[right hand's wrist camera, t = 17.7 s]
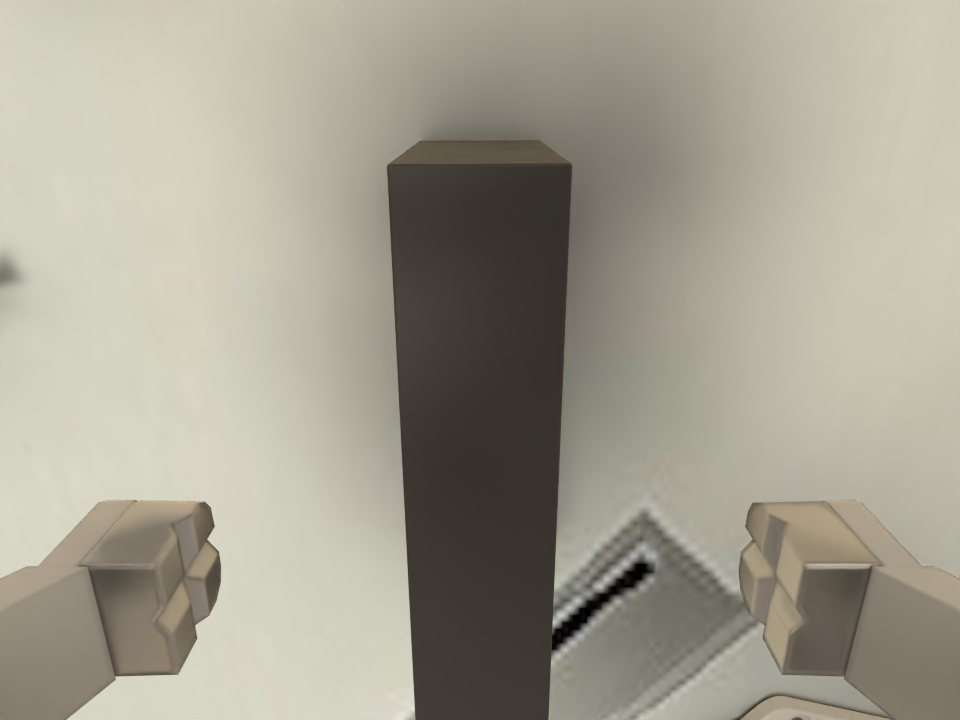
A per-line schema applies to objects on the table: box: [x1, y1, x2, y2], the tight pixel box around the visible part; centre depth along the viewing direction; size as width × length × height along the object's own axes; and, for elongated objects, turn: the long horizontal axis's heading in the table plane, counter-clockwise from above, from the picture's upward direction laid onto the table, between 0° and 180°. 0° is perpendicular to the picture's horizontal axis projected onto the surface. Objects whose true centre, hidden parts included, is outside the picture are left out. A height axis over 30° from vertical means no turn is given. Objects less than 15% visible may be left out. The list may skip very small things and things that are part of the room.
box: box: [387, 141, 572, 720], centre depth 32 cm, size 24×6×12 cm, turn 0°
